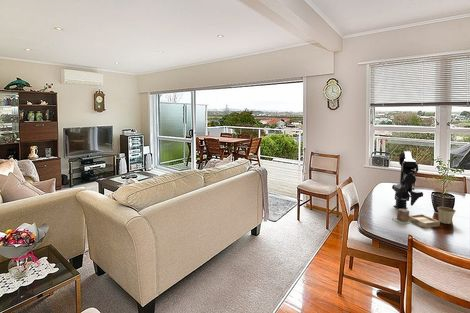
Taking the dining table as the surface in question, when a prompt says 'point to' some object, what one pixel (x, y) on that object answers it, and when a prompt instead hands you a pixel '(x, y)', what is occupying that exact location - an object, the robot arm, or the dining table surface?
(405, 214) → the walnut block
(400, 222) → the pad
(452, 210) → the flower pot
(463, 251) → the dining table surface
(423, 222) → the oak box
